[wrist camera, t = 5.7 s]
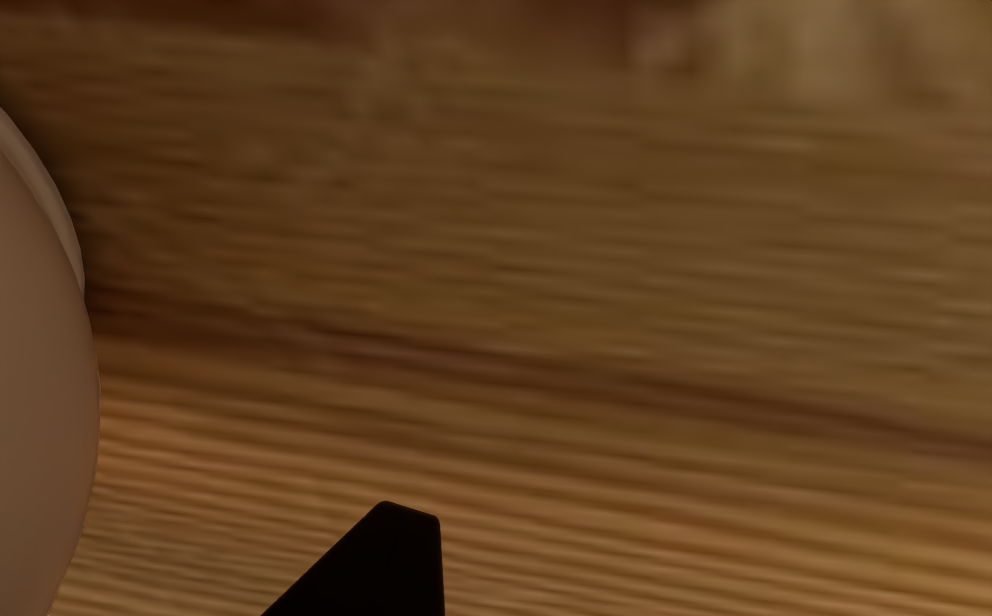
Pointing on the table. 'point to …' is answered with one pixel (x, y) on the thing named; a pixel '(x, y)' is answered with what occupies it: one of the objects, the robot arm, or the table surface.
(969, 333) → the table surface
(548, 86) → the table surface
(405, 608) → the robot arm
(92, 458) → the trinket box
